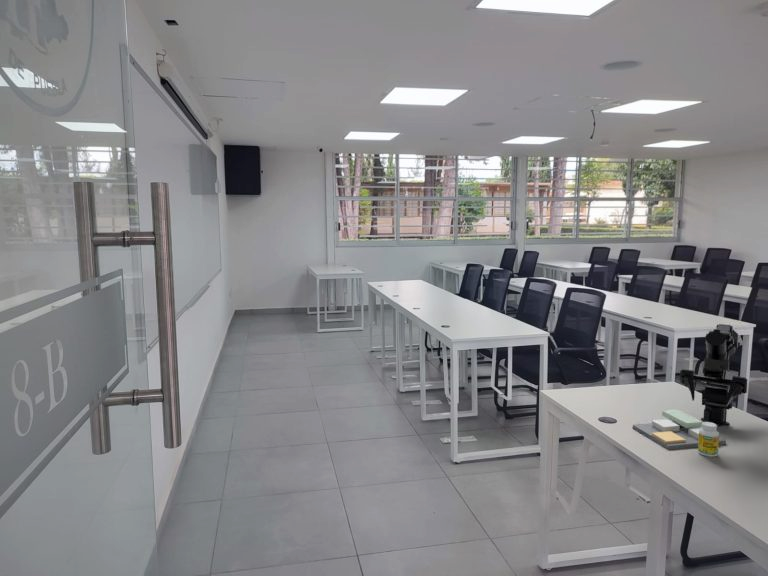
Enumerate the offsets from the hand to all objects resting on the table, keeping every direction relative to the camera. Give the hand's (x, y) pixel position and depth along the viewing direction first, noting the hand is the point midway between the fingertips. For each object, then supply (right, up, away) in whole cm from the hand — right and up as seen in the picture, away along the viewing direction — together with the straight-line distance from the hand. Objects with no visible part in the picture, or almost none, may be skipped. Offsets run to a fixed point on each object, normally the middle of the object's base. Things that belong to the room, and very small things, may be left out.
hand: (709, 402), depth 169 cm
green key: (-1, -11, +14) cm, 18 cm away
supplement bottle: (-4, -15, -5) cm, 16 cm away
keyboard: (-5, -13, +9) cm, 17 cm away
